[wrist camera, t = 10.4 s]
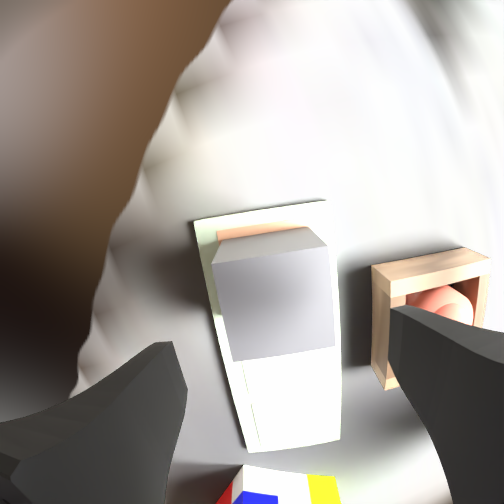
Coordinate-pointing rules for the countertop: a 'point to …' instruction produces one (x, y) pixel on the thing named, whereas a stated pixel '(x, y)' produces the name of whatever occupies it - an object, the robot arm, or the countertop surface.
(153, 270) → the countertop surface
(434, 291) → the dome
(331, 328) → the block
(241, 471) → the puzzle toy
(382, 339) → the collar
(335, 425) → the board
